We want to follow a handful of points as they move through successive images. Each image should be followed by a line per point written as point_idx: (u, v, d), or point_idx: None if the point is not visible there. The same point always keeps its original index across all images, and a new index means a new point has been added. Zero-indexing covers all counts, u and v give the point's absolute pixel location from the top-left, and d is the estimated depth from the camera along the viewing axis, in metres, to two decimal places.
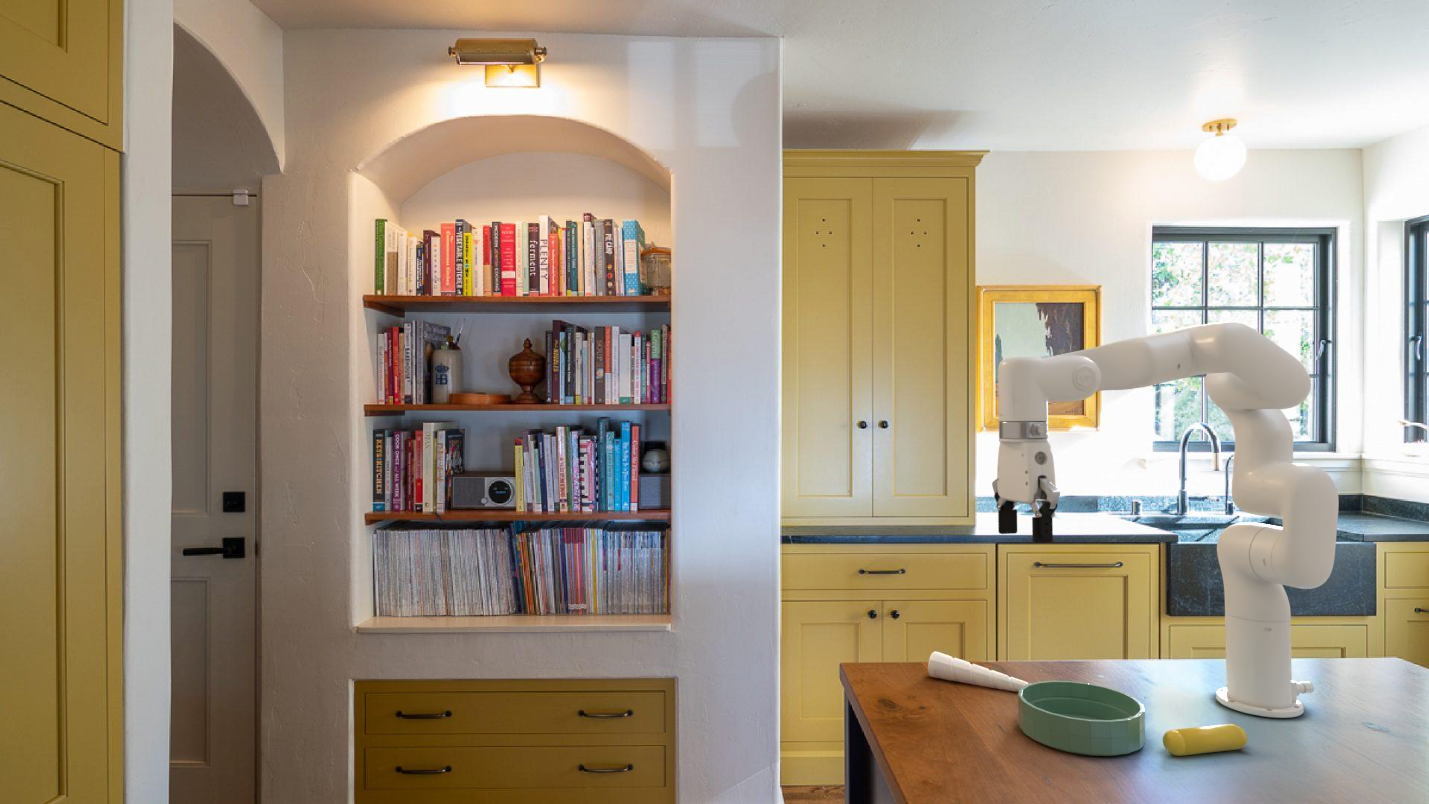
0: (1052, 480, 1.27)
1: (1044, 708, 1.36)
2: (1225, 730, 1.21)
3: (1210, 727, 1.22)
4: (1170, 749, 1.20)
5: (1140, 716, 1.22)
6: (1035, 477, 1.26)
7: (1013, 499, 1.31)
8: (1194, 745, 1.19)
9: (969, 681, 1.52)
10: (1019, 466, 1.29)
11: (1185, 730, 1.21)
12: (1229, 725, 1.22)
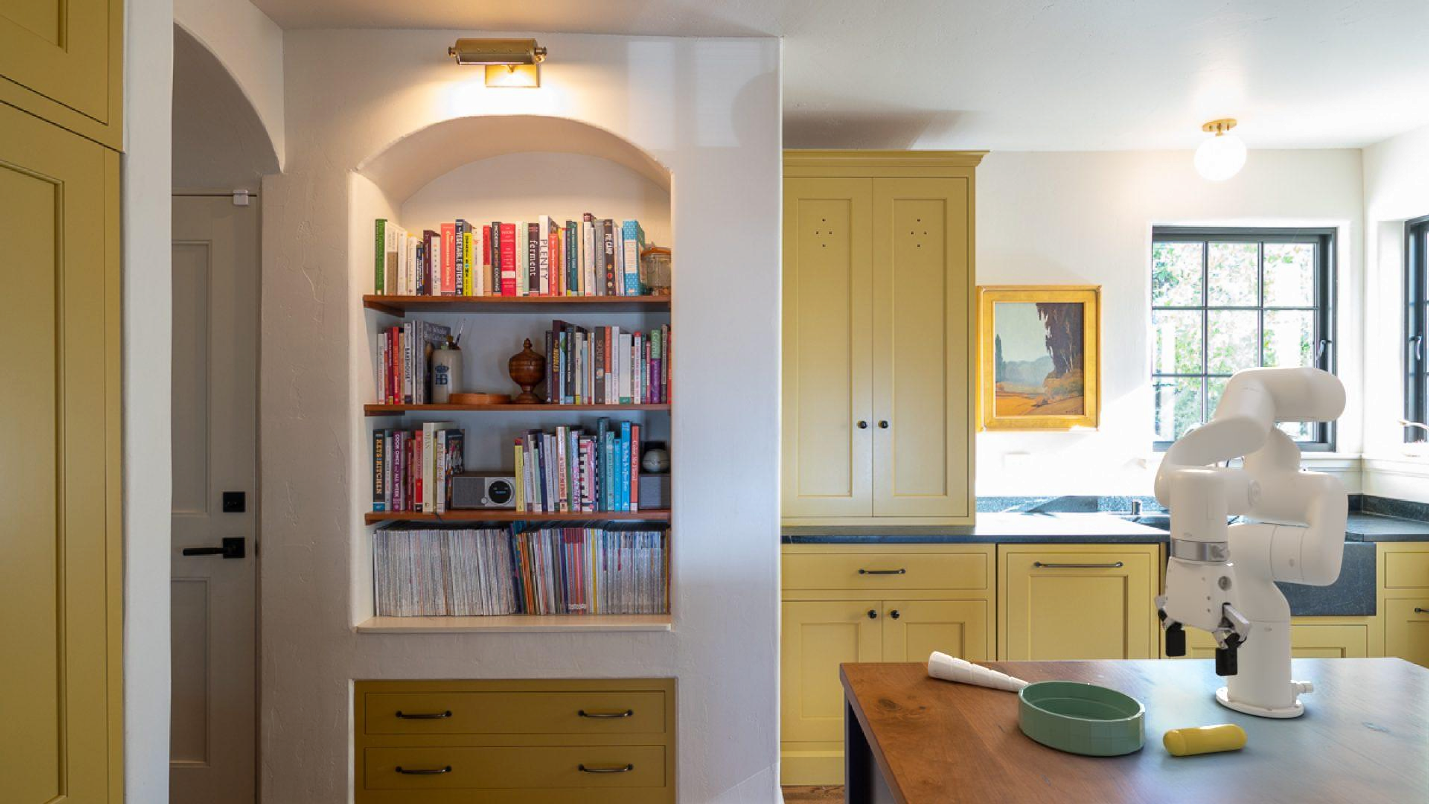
0: (1237, 607, 1.17)
1: (1044, 708, 1.36)
2: (1225, 730, 1.21)
3: (1210, 727, 1.22)
4: (1170, 749, 1.20)
5: (1140, 716, 1.22)
6: (1219, 604, 1.17)
7: (1188, 624, 1.21)
8: (1194, 745, 1.19)
9: (969, 681, 1.52)
10: (1199, 590, 1.19)
11: (1185, 730, 1.21)
12: (1229, 725, 1.22)
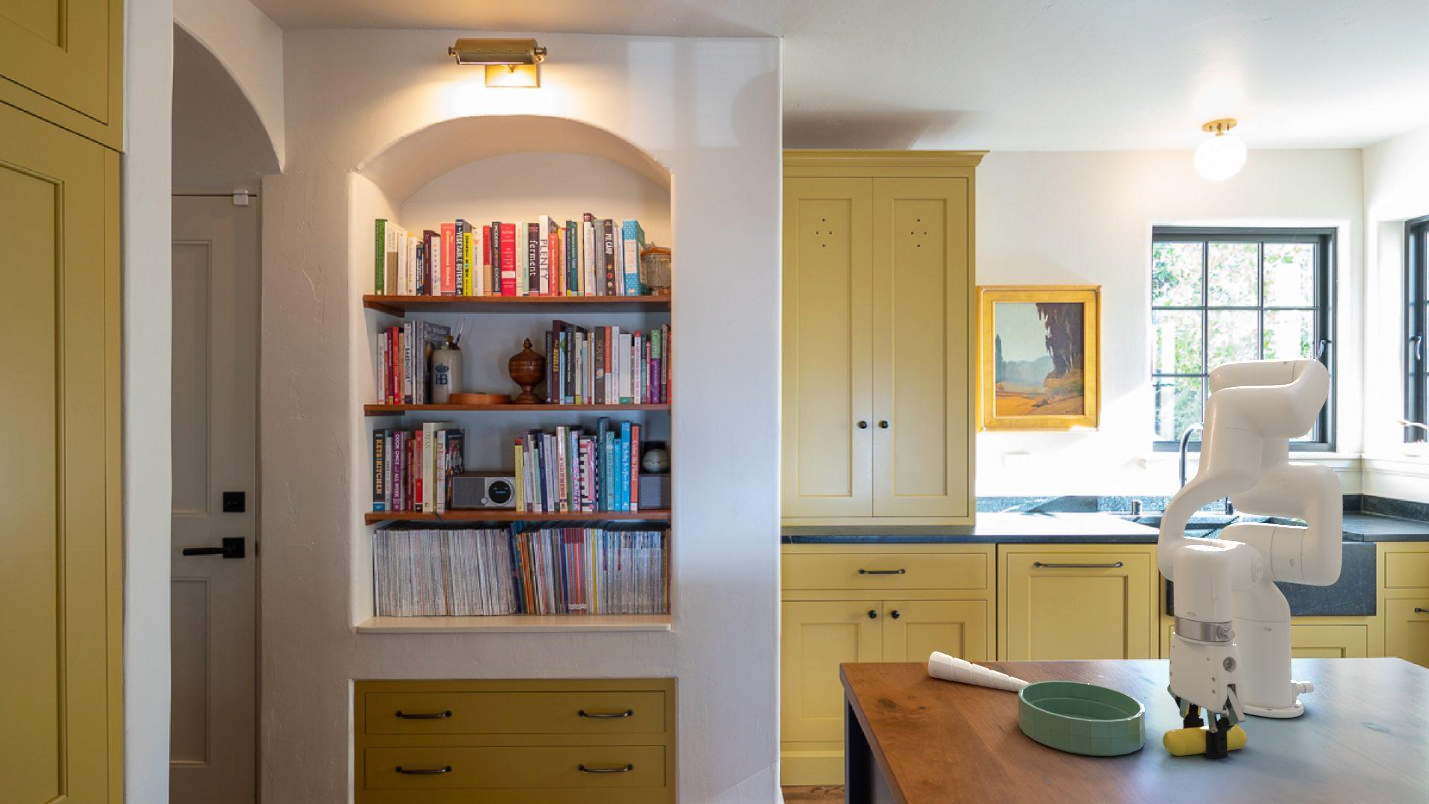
0: (1241, 688, 1.17)
1: (1044, 708, 1.36)
2: None
3: None
4: (1170, 750, 1.20)
5: (1140, 716, 1.22)
6: (1224, 686, 1.17)
7: (1193, 702, 1.21)
8: (1194, 745, 1.19)
9: (969, 681, 1.52)
10: (1203, 670, 1.19)
11: (1185, 730, 1.21)
12: None
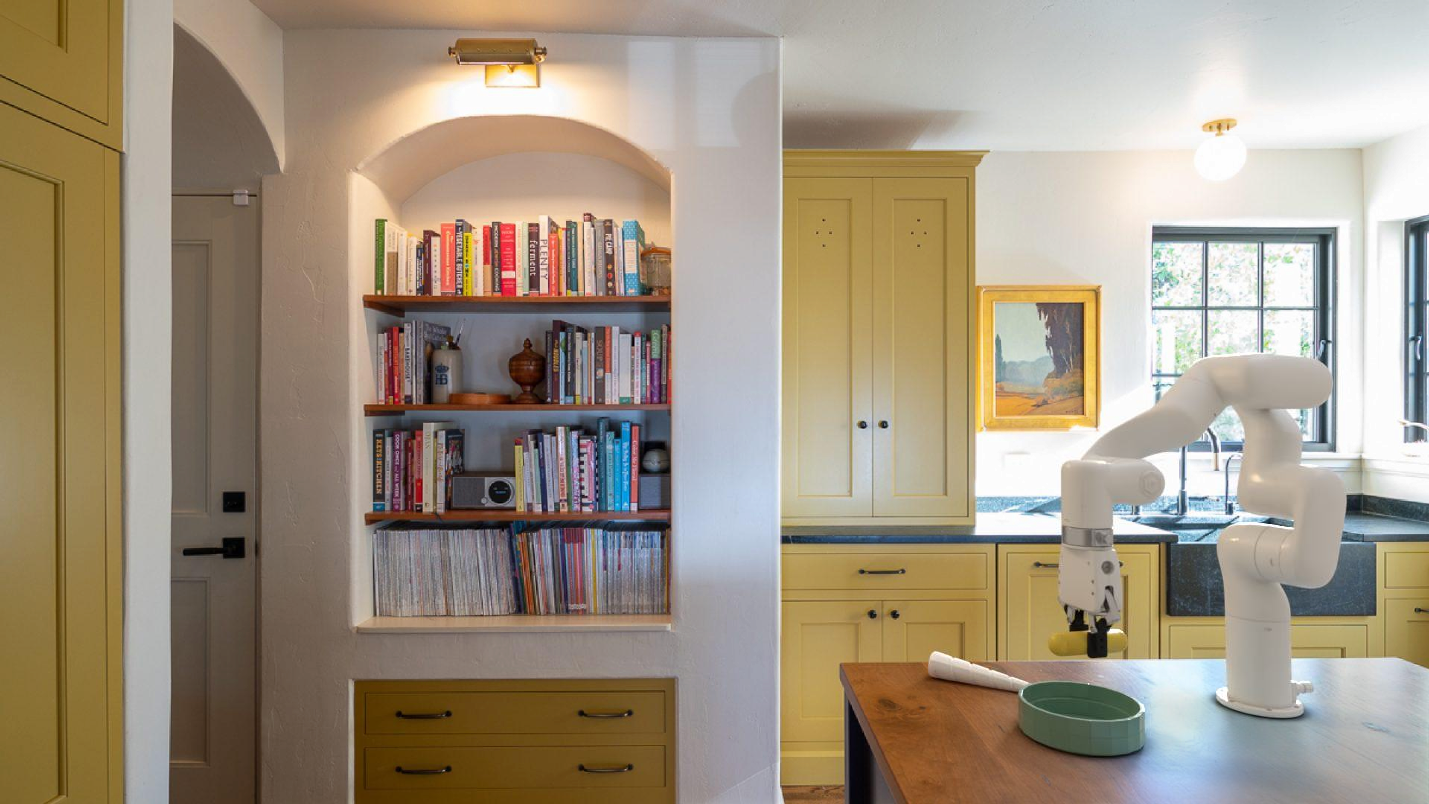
0: (1119, 590, 1.24)
1: (1044, 708, 1.36)
2: (1107, 633, 1.28)
3: None
4: (1053, 650, 1.26)
5: (1140, 716, 1.22)
6: (1102, 587, 1.23)
7: (1077, 606, 1.28)
8: (1076, 646, 1.26)
9: (969, 681, 1.52)
10: (1084, 574, 1.25)
11: (1068, 632, 1.27)
12: (1111, 629, 1.29)
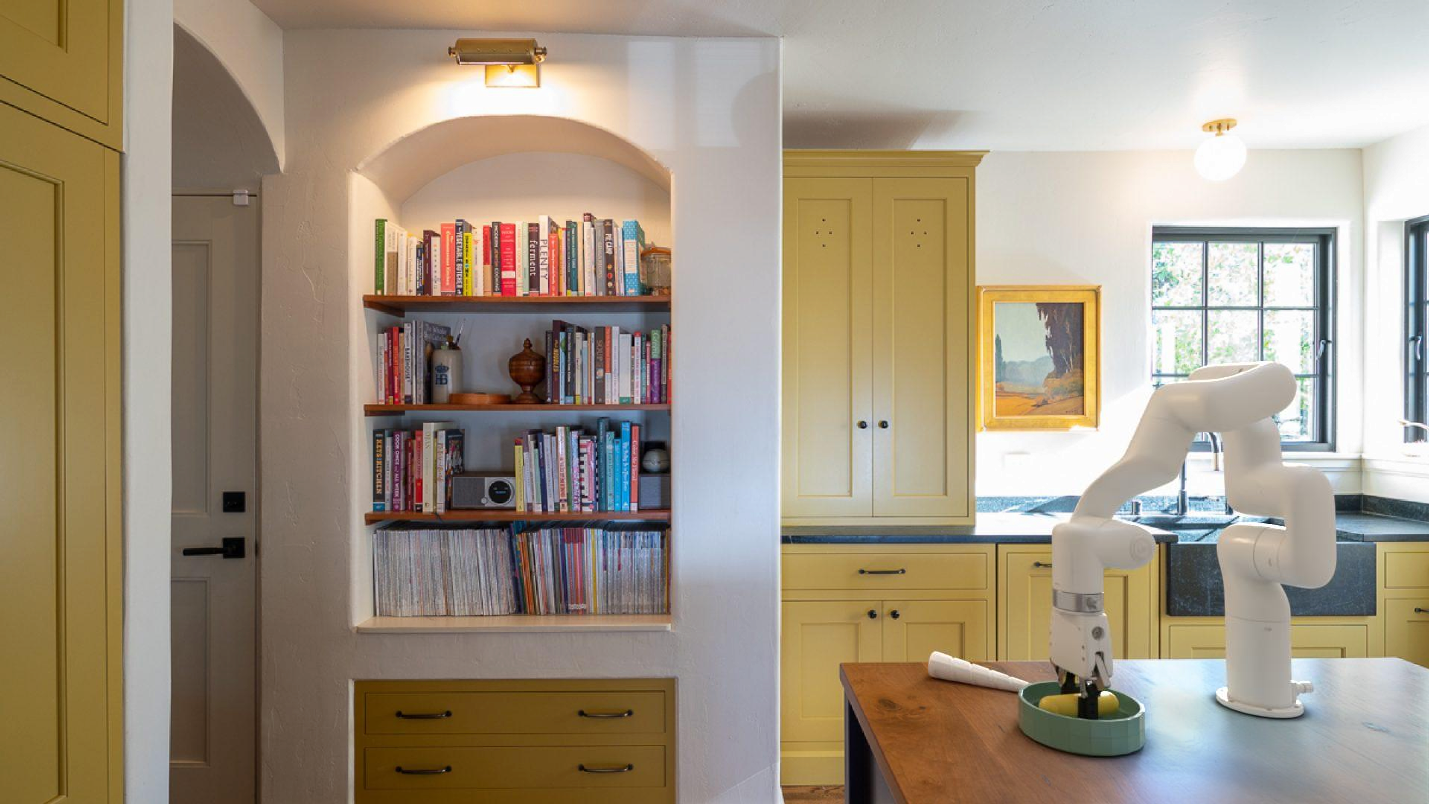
0: (1109, 656, 1.24)
1: None
2: None
3: None
4: None
5: (1140, 716, 1.22)
6: (1092, 653, 1.24)
7: (1068, 670, 1.28)
8: (1066, 710, 1.26)
9: (969, 681, 1.52)
10: (1075, 639, 1.26)
11: (1059, 696, 1.28)
12: (1102, 692, 1.29)
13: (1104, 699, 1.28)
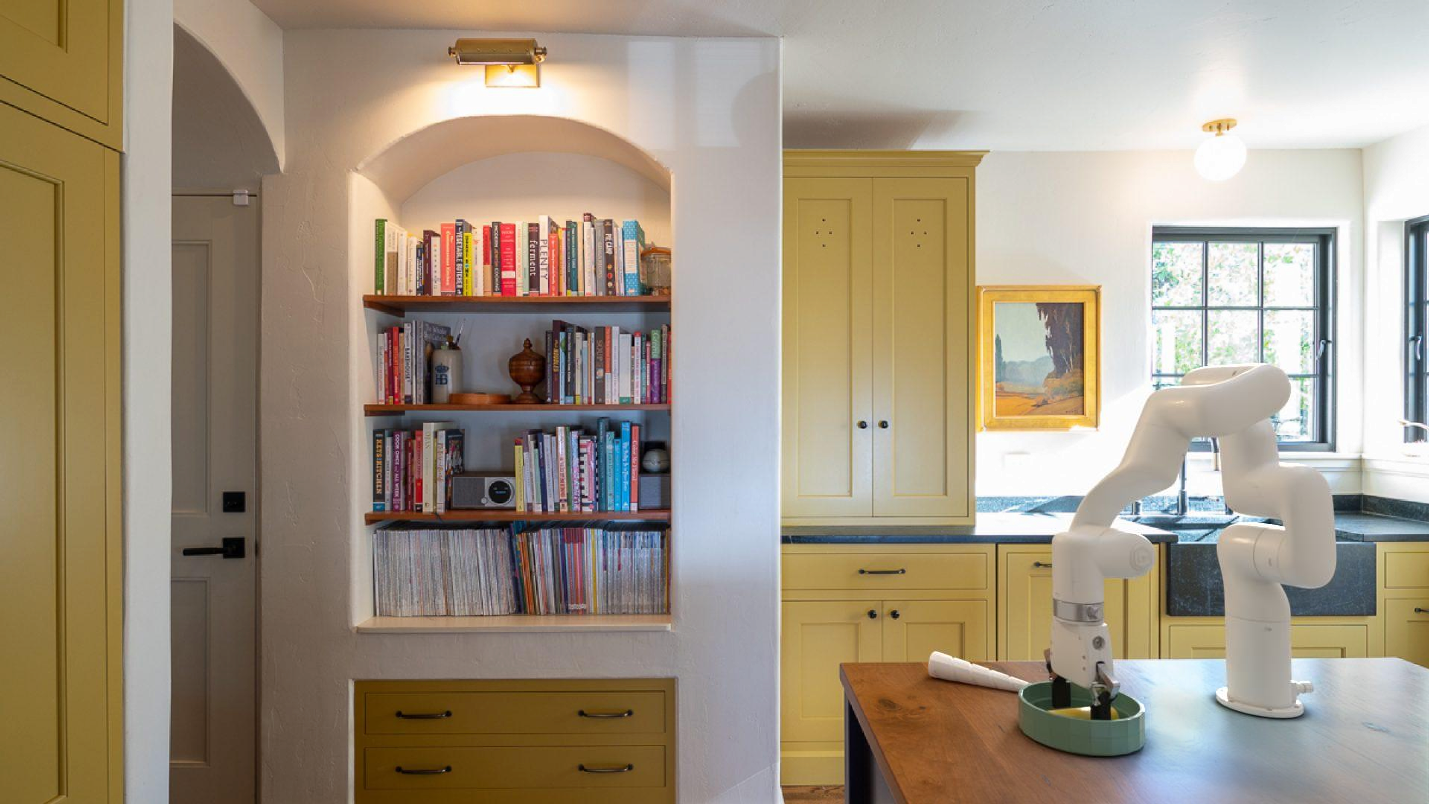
0: (1110, 665, 1.24)
1: (1044, 708, 1.36)
2: None
3: (1084, 708, 1.29)
4: None
5: (1140, 716, 1.22)
6: (1093, 663, 1.24)
7: (1069, 679, 1.28)
8: None
9: (969, 681, 1.52)
10: (1076, 649, 1.26)
11: (1059, 711, 1.28)
12: None
13: None
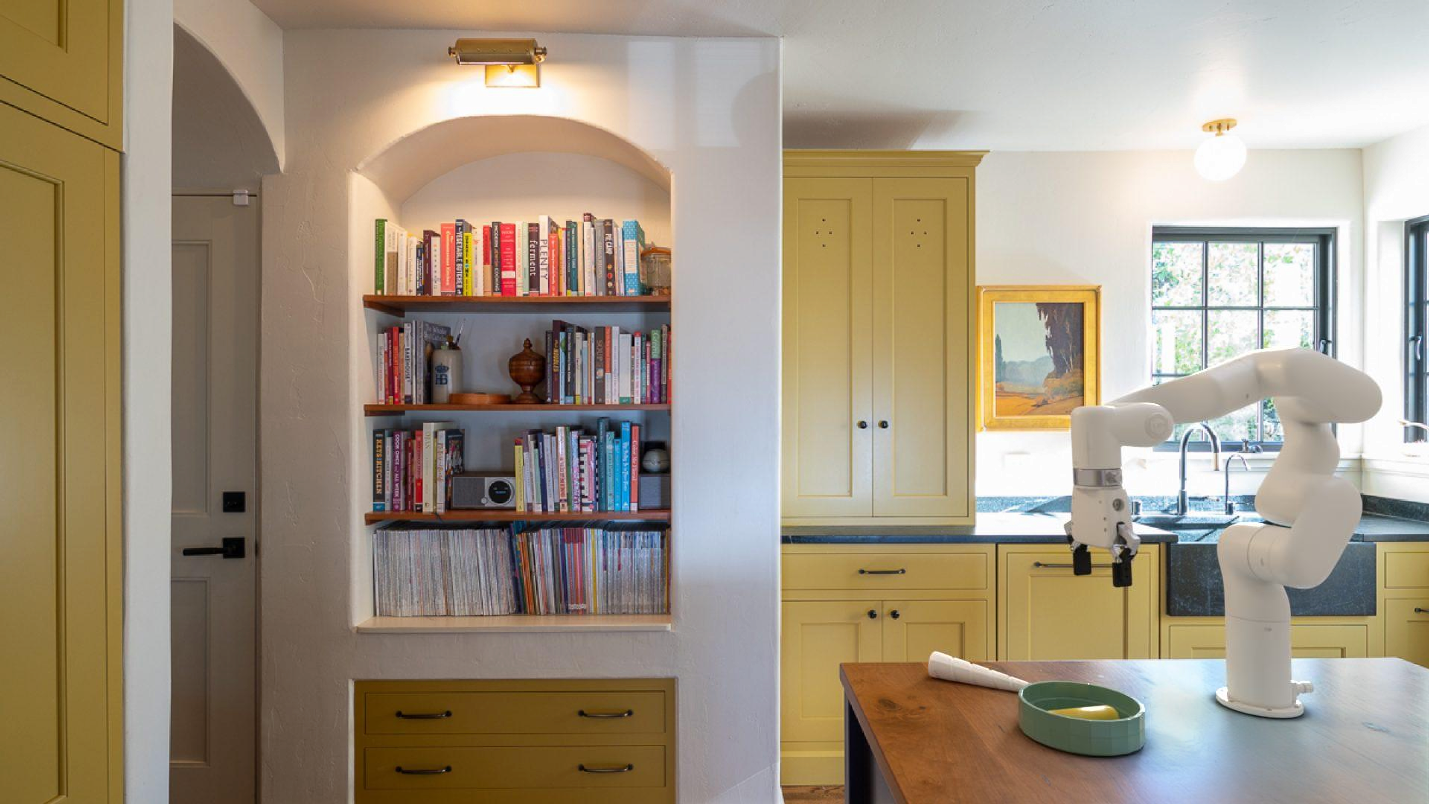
0: (1130, 526, 1.31)
1: (1044, 708, 1.36)
2: (1099, 711, 1.28)
3: (1085, 708, 1.29)
4: None
5: (1140, 716, 1.22)
6: (1114, 524, 1.31)
7: (1090, 544, 1.35)
8: None
9: (969, 681, 1.52)
10: (1096, 513, 1.33)
11: (1060, 711, 1.27)
12: (1103, 706, 1.29)
13: (1105, 714, 1.28)
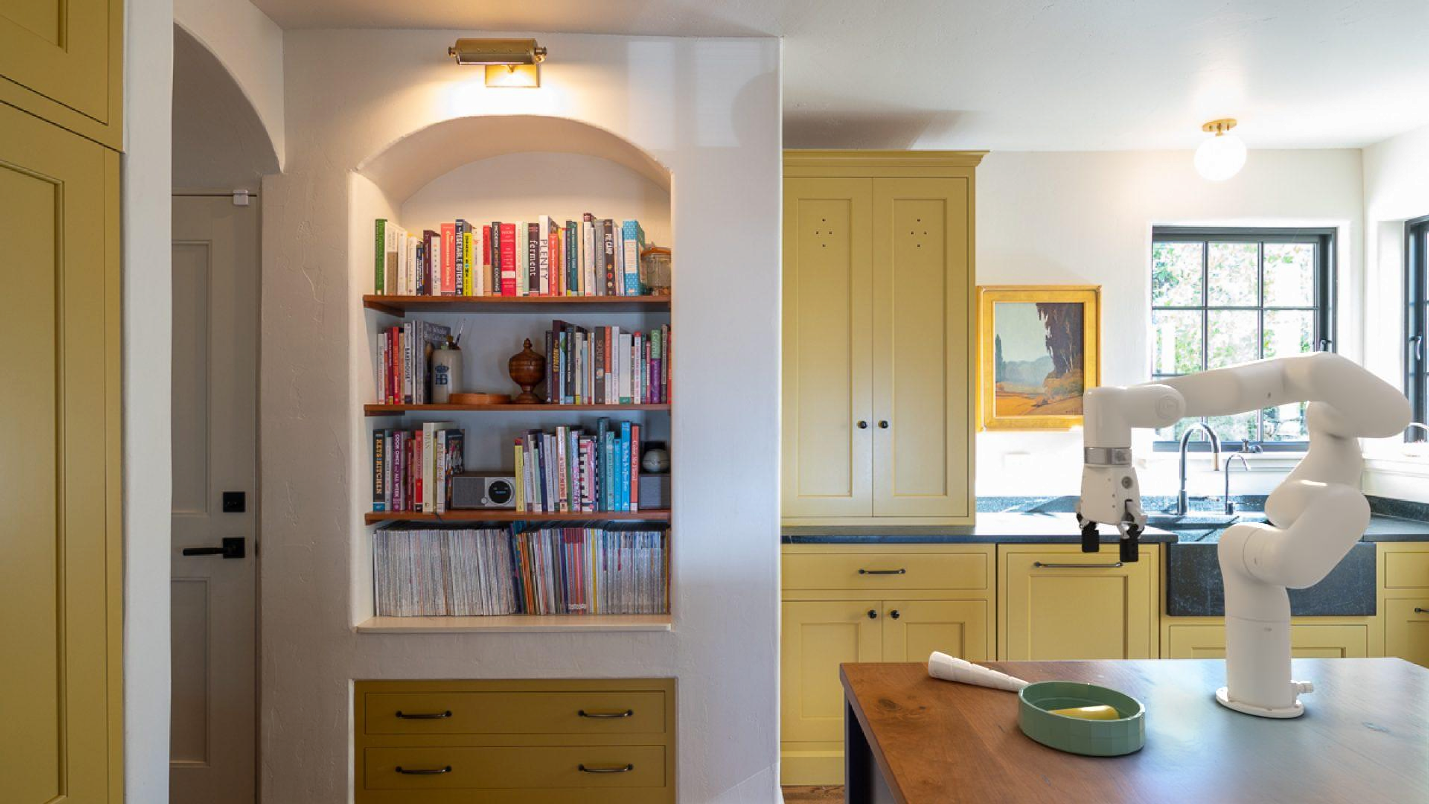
0: (1138, 503, 1.35)
1: (1044, 708, 1.36)
2: (1099, 711, 1.28)
3: (1085, 708, 1.28)
4: None
5: (1140, 716, 1.22)
6: (1122, 501, 1.34)
7: (1098, 521, 1.39)
8: None
9: (969, 681, 1.52)
10: (1106, 490, 1.36)
11: (1060, 711, 1.27)
12: (1103, 707, 1.29)
13: (1105, 714, 1.28)
